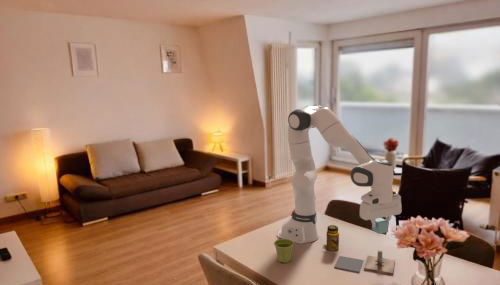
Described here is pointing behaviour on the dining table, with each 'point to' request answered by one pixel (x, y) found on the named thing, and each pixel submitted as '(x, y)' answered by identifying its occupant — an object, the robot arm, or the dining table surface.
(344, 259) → the mat
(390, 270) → the post
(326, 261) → the dining table surface
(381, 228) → the teal cube
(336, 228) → the condiment
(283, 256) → the plant pot
